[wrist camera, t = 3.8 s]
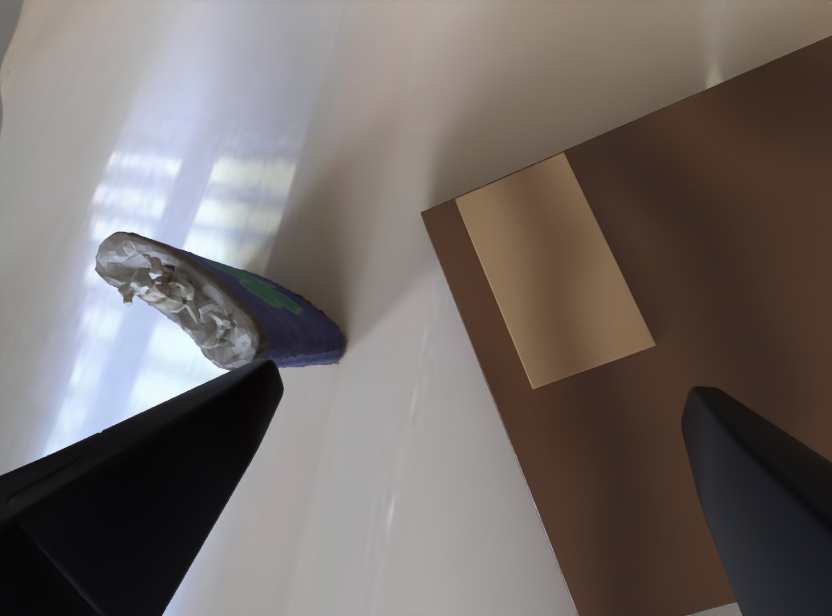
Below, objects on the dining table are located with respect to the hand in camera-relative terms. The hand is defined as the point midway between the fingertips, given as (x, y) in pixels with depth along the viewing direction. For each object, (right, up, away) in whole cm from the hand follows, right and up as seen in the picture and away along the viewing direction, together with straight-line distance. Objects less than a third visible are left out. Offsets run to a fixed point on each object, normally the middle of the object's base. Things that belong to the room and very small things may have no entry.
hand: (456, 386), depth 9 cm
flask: (-9, +1, +16) cm, 18 cm away
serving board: (+14, +1, +12) cm, 18 cm away
